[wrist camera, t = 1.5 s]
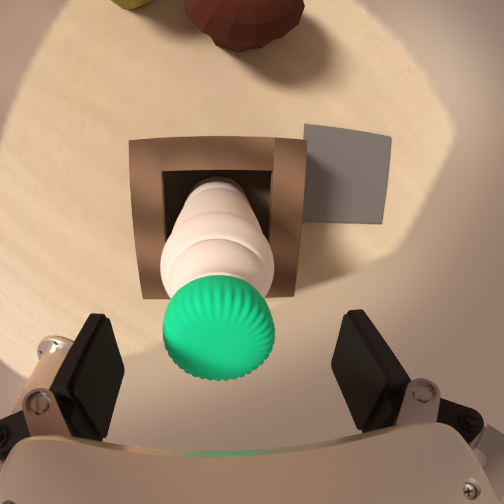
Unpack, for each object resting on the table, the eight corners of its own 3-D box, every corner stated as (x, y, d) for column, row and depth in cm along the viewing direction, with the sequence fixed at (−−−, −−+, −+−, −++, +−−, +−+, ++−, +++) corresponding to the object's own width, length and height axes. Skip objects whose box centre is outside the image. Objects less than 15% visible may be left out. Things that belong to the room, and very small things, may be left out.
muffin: (291, -7, 24) (315, -45, 15) (287, 65, 28) (313, 40, 19) (195, -14, 23) (189, -56, 13) (184, 59, 27) (172, 30, 18)
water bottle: (237, 167, 32) (287, 244, 10) (253, 222, 35) (316, 380, 12) (179, 185, 32) (100, 300, 10) (198, 239, 35) (176, 413, 12)
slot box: (279, 264, 38) (294, 296, 30) (156, 266, 36) (142, 299, 29) (287, 139, 32) (307, 140, 24) (149, 139, 30) (128, 140, 23)
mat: (379, 222, 37) (381, 223, 37) (298, 220, 36) (299, 221, 35) (389, 136, 33) (391, 136, 32) (304, 124, 31) (305, 123, 31)
